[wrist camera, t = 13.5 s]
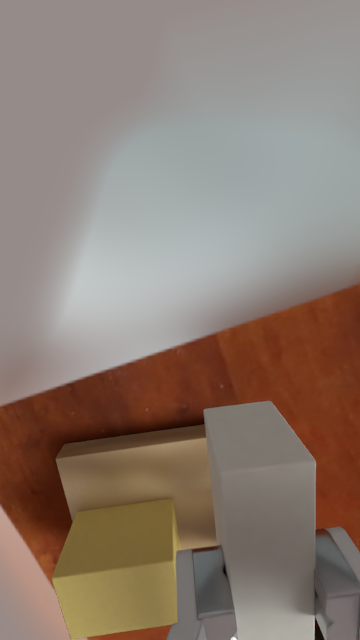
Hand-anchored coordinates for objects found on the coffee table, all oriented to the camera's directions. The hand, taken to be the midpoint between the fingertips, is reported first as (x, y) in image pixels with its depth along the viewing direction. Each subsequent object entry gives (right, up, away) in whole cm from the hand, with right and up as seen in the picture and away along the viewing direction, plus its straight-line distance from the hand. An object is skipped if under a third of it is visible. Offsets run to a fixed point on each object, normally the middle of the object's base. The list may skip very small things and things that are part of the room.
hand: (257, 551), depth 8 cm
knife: (+1, -5, +3) cm, 6 cm away
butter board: (-4, -8, +12) cm, 15 cm away
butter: (-6, -8, +10) cm, 15 cm away
